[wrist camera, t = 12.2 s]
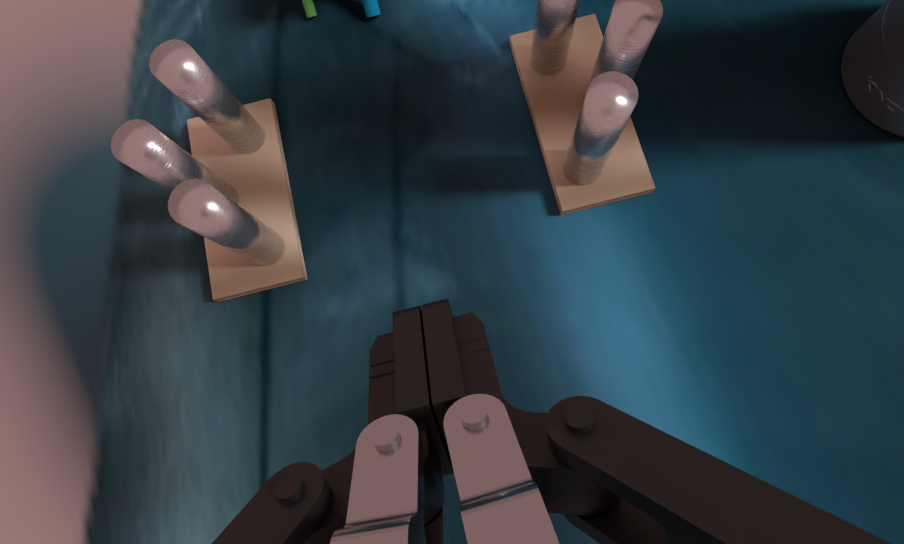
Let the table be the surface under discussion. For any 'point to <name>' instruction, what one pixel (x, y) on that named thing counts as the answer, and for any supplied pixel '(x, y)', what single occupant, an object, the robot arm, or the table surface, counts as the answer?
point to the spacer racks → (554, 123)
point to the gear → (369, 4)
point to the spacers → (214, 200)
